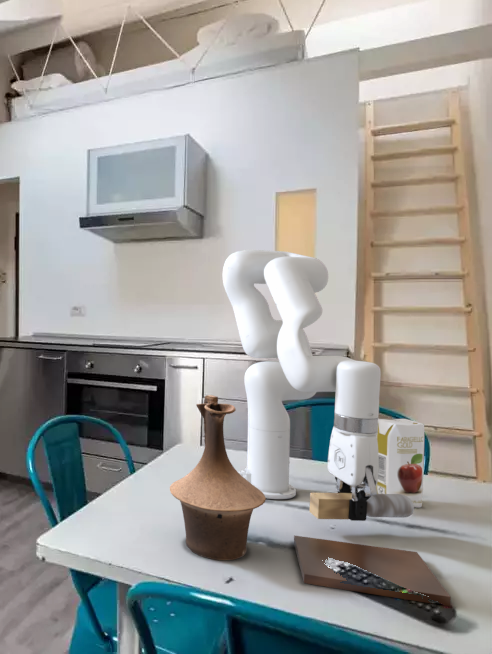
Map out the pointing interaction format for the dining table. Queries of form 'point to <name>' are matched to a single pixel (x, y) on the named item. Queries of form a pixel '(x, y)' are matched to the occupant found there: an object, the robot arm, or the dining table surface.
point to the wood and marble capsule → (376, 506)
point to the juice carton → (401, 458)
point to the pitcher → (216, 494)
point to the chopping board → (369, 568)
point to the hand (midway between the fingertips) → (351, 514)
